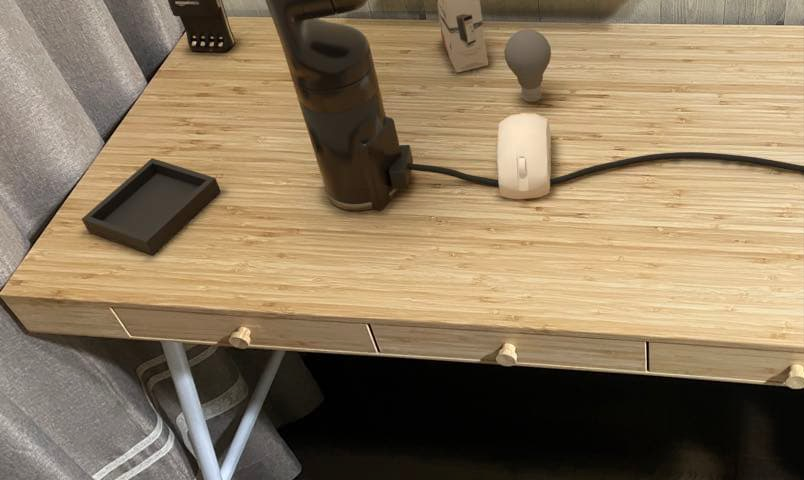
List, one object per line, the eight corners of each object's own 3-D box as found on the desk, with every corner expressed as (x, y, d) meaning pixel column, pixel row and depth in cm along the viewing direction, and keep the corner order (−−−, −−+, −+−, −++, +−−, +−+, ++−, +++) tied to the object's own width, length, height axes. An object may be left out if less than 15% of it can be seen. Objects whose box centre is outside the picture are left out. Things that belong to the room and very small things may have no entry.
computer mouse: (498, 202, 121) (492, 161, 116) (502, 136, 130) (496, 95, 125) (552, 199, 121) (548, 158, 116) (552, 133, 129) (548, 92, 125)
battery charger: (184, 54, 149) (156, -17, 141) (194, 40, 152) (168, -30, 143) (228, 56, 148) (202, -16, 140) (237, 41, 151) (213, -30, 142)
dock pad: (221, 191, 127) (215, 177, 125) (152, 255, 120) (146, 242, 118) (158, 171, 131) (151, 157, 129) (88, 232, 123) (81, 218, 122)
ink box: (441, 43, 146) (428, -33, 137) (473, 35, 147) (462, -41, 138) (456, 74, 140) (443, -3, 131) (489, 66, 141) (479, -11, 132)
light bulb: (505, 110, 134) (496, 44, 126) (516, 84, 137) (508, 18, 130) (548, 113, 132) (542, 47, 125) (559, 87, 136) (554, 21, 129)
